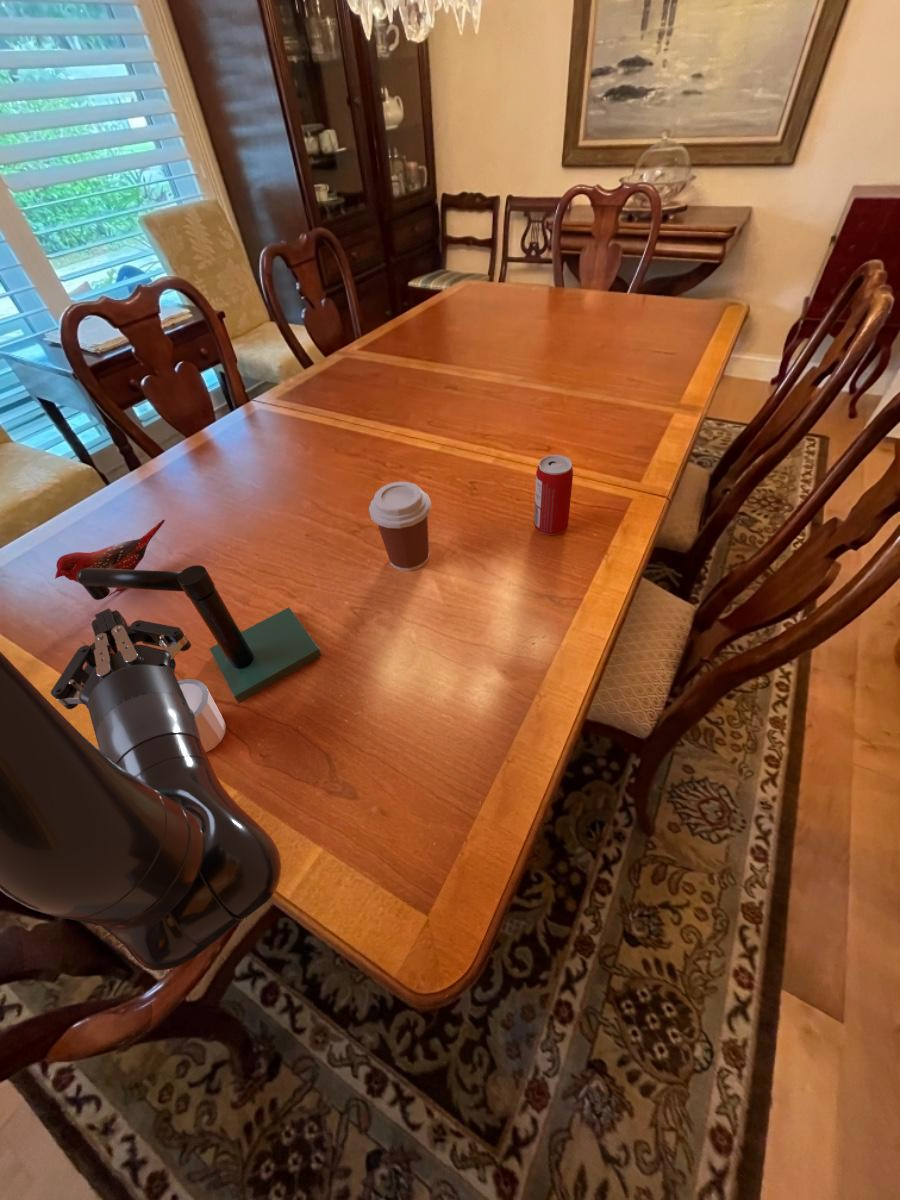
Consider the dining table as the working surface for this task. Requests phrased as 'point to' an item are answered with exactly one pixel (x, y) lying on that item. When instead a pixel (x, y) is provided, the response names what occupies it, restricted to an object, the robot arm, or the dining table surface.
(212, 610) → the faucet
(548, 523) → the soda can
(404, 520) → the coffee cup
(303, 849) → the dining table surface
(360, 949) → the dining table surface
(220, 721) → the shot glass
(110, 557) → the decorative bird figurine
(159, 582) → the spout
